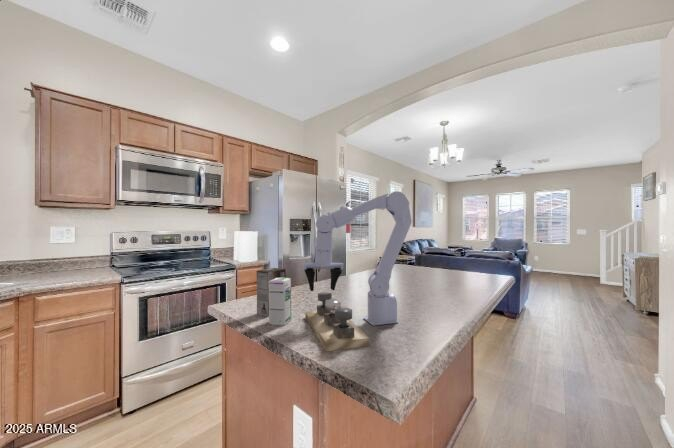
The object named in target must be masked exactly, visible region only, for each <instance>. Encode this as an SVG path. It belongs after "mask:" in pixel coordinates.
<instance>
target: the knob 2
mask: <svg viewBox="0 0 674 448" xmlns="http://www.w3.org/2000/svg"><path fill="white" fill-rule="evenodd" d="M352 309H353V308H352ZM352 309H351V308H350V307H341V308H337V309H335V319H337V320H340V327H342V328H345V327H347V320H350V321H351V320H352V319H353V310H352Z"/></svg>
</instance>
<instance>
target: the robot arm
mask: <svg viewBox="0 0 674 448" xmlns="http://www.w3.org/2000/svg"><path fill="white" fill-rule="evenodd" d="M385 209H386V210H387V212H389V213H390V214H391V216H392V218H393V220H394V222H395V224H394V226H393V228H392V232H391V234H390V236H389V239H388V241H387V244H386V246H385V248H384V251H383V253H382V256H381V258H380V260H379V263H378V265H377V267H376V268H375V270H374V272H373V273H372V274H370V276H369V277H368V280H367V281H368V286H369V291H368V292H367V316H363V317H362V318H363V319H364V320H365V321H366V322H367V323H369V324H371V325H372V326H380V325H381V326H382V325H390V324H398V323H399V320H398V300H397V297H396V296H395V294H393V293H389V291H390V280H391V278H392V271H393V268H394V266H395V264H396V261H397V259H398V256H399V255H400V251H401V249H402V247H403V245H404V242H405V239H406V237H407V234H408V232H409V230H410V228H411V225H412V221H413V219H412V215H411V210H410V200H408V198H407V196H406V194H404V193H403V192H402V191H397V190H396V191H392V192H391V193H390V194H389V193H386V194H382V195H379V196H376V197H373V198H372V199H369V200H368V201H365V202H364V203H360V204H359V205H357V206H354V207H350V206H345V207H344V206H340V207H339V209H338V210H335V211H332V212H330V211H329V212H327V213H326V214H322V215H321V216H319V217H318V218H317V220H316V222H315V226H316V229H317V230H316V237H315V258H314V262H302V264H301V269H302V270H303V271H304V274H305V275H306V278H307V281H308V286H309V291H310V292H314V288H315V286H314V285H315V284H314V283H315V282H314V281H315V276H316V271H315V270H330V271H329V272H330V289H331V290H332V291H335V289H336V284H337V282H338V280H339V278H340V276H341V275H342V271H343V270H344V265H345V264H344V263H343V262H332V261H333V241H334V239H333V230H334V229H339V228H341V227H344V226H347V225H349V224H351V223H353V222H354V221H355V219H356V217H358V216H360V215H363V214H366V213H368V212H371V211H374V210H383V211H384V210H385Z"/></svg>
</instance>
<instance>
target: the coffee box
mask: <svg viewBox="0 0 674 448" xmlns="http://www.w3.org/2000/svg"><path fill="white" fill-rule="evenodd" d="M275 278H287V277H286V268H279V267H272V268H271V267H270V268H266V269H260V270H256V314H257V315H260V316H264V317H268V318H269V281H270V280H273V279H275Z"/></svg>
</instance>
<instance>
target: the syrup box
mask: <svg viewBox="0 0 674 448" xmlns="http://www.w3.org/2000/svg"><path fill="white" fill-rule="evenodd" d="M291 279H292V278H291V277H286V278H275V279H273V280H270V281H269V317H268V324H269V325H273V326H286V325H288V323H289V322H291V320H292V285H291V284H292V280H291Z"/></svg>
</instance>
